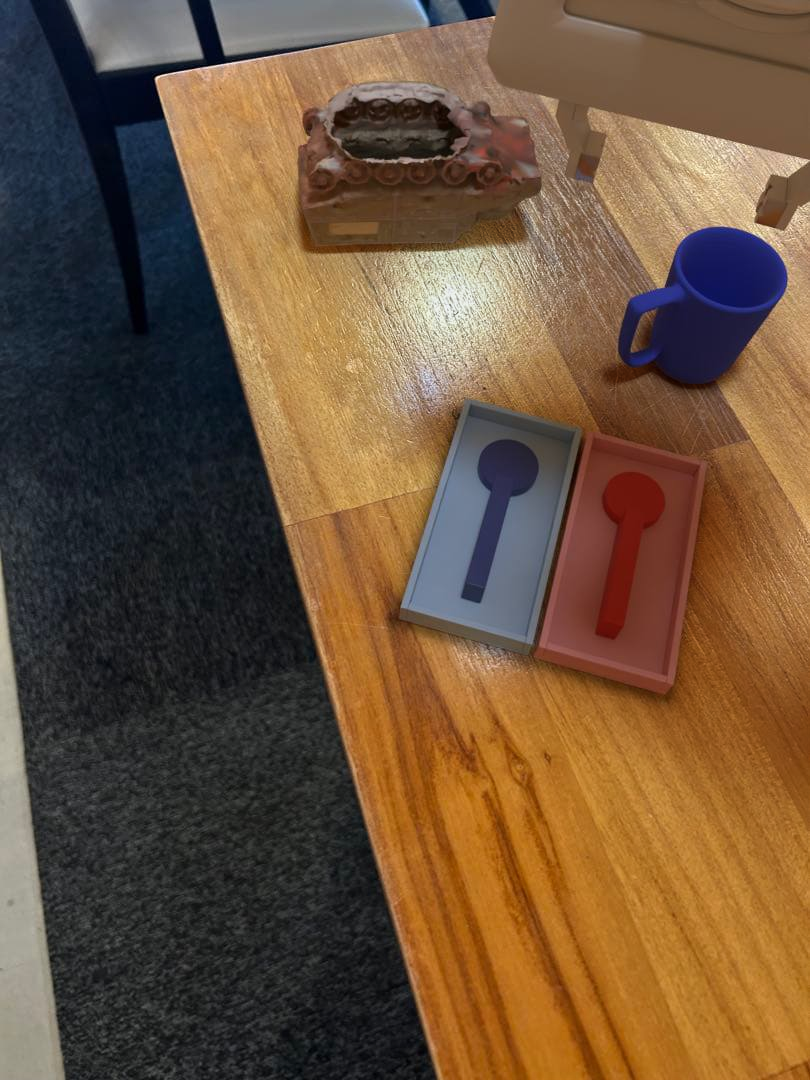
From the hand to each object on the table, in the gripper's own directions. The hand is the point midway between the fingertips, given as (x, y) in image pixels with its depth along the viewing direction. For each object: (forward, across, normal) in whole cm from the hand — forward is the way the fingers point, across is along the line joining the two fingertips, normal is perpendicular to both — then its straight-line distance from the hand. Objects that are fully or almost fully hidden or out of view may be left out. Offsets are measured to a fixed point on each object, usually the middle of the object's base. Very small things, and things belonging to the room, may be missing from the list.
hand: (674, 195), depth 47 cm
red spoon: (+27, +5, -4) cm, 27 cm away
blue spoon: (+27, -4, -4) cm, 27 cm away
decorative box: (+27, -18, +24) cm, 41 cm away
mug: (+27, +6, +14) cm, 31 cm away
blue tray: (+27, -4, -5) cm, 28 cm away
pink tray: (+27, +5, -5) cm, 28 cm away
